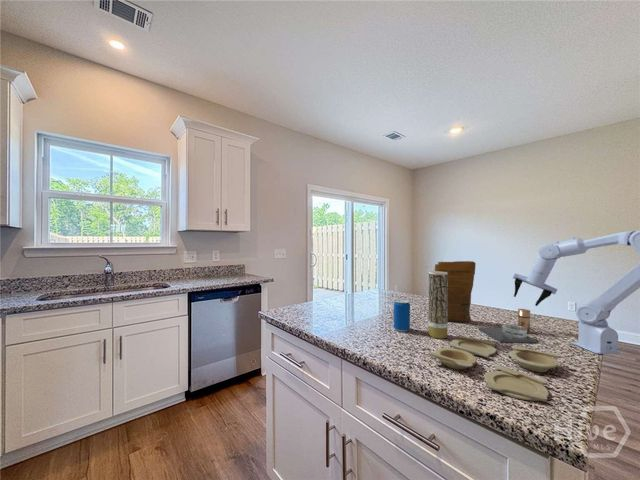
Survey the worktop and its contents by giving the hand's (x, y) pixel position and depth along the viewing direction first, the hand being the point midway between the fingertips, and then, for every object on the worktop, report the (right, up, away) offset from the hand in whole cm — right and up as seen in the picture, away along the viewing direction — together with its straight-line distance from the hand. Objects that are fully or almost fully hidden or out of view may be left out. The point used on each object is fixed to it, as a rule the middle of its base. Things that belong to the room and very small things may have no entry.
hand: (525, 300), depth 112 cm
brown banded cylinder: (-2, -12, -2) cm, 13 cm away
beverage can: (-52, -12, -1) cm, 54 cm away
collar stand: (-13, -12, -7) cm, 20 cm away
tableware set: (-35, -13, -32) cm, 49 cm away
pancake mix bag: (-24, -12, +12) cm, 30 cm away
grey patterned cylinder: (-40, -12, -8) cm, 43 cm away
